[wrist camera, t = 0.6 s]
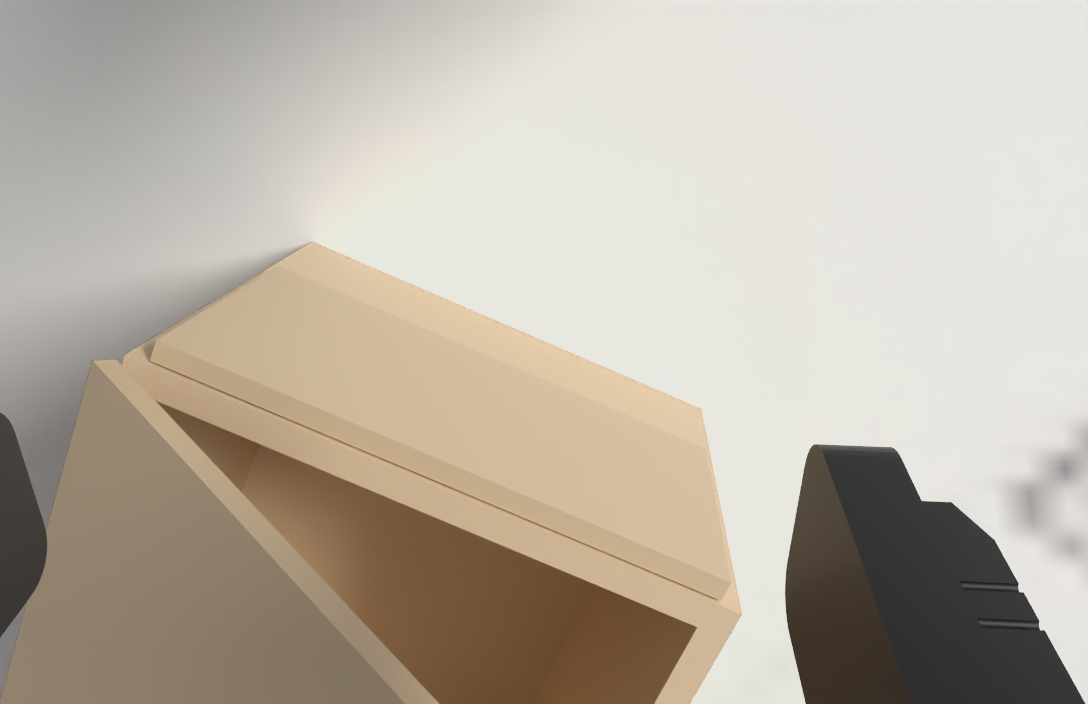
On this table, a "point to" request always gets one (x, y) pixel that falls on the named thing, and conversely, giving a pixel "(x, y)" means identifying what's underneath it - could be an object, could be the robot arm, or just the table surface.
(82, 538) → the lid flap
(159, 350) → the carton
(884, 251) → the table surface
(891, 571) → the robot arm
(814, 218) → the table surface
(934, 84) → the table surface
